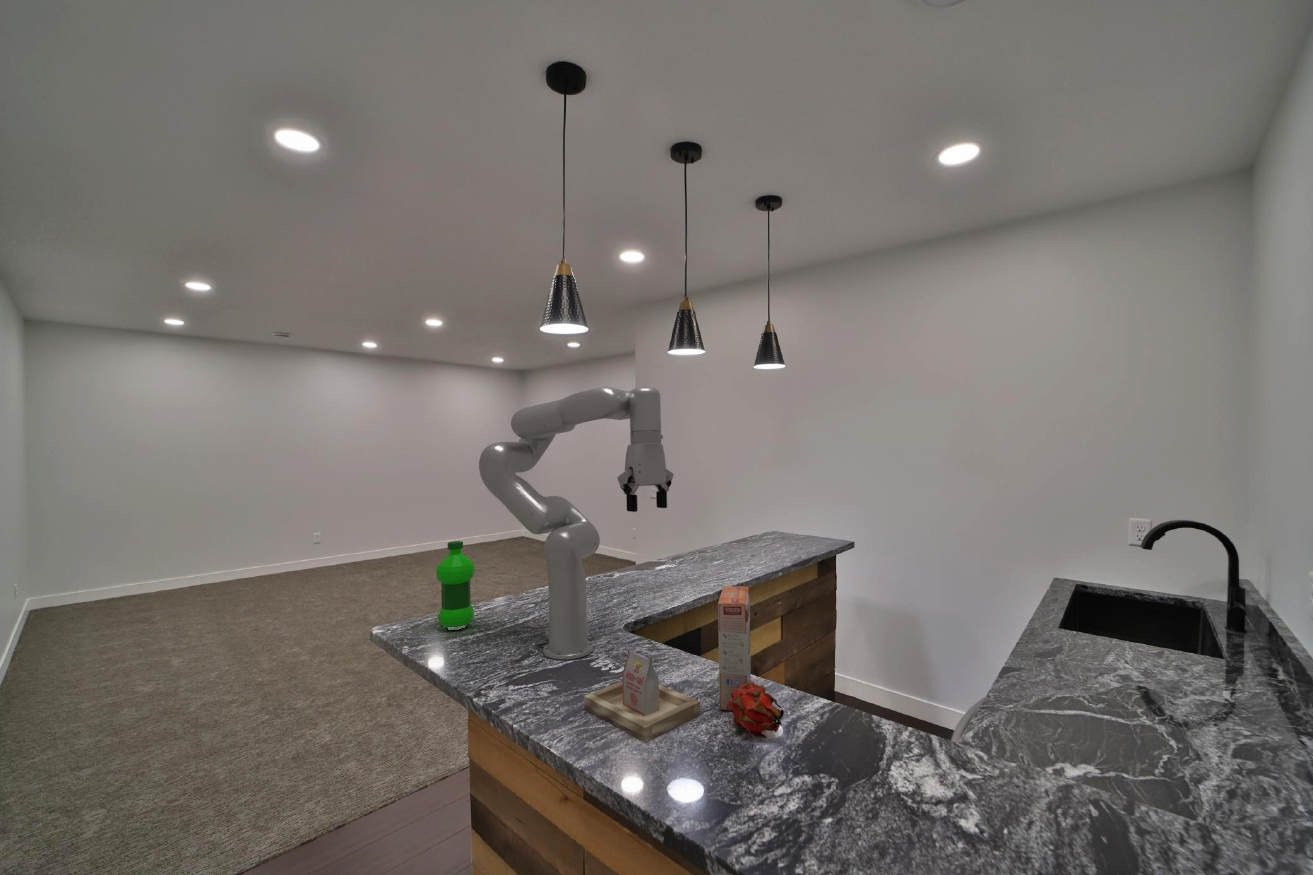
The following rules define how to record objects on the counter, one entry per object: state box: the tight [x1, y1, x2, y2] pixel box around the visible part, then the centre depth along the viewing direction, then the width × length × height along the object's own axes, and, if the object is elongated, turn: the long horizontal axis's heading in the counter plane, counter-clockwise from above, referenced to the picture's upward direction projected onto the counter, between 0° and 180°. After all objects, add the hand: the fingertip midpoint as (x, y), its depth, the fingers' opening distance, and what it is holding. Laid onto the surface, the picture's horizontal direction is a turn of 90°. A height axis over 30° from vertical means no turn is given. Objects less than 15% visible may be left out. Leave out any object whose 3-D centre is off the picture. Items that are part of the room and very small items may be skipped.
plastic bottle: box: [435, 540, 476, 628], centre depth 163 cm, size 10×10×25 cm
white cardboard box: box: [621, 650, 660, 716], centre depth 108 cm, size 4×7×10 cm, turn 40°
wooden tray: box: [583, 681, 701, 743], centre depth 108 cm, size 18×14×2 cm
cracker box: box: [717, 585, 752, 711], centre depth 114 cm, size 14×6×21 cm, turn 168°
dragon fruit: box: [726, 680, 785, 739], centre depth 100 cm, size 8×8×12 cm
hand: (647, 509), depth 135 cm, fingers open, 9 cm apart
